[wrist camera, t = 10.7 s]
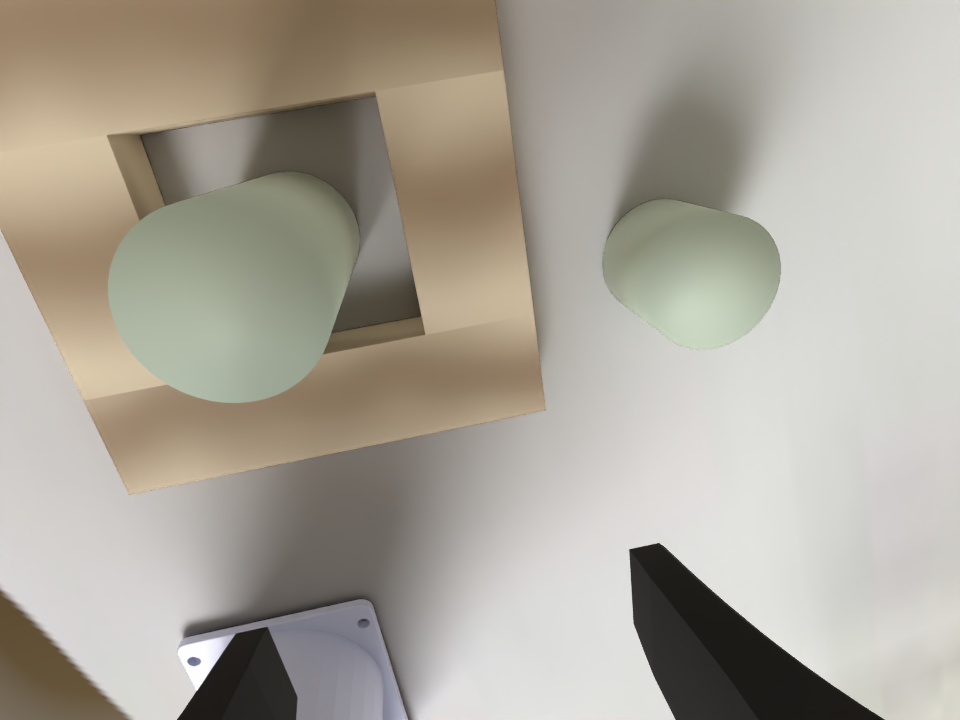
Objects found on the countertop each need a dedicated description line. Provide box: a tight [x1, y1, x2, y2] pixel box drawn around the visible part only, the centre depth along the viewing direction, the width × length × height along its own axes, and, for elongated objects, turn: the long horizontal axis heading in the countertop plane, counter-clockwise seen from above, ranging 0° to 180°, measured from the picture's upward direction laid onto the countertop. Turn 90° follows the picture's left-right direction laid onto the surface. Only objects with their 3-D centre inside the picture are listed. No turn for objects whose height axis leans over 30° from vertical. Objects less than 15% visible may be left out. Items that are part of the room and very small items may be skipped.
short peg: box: [602, 199, 781, 350], centre depth 18 cm, size 4×4×4 cm
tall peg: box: [108, 172, 360, 403], centre depth 14 cm, size 4×4×8 cm
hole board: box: [0, 0, 546, 495], centre depth 17 cm, size 14×14×2 cm
